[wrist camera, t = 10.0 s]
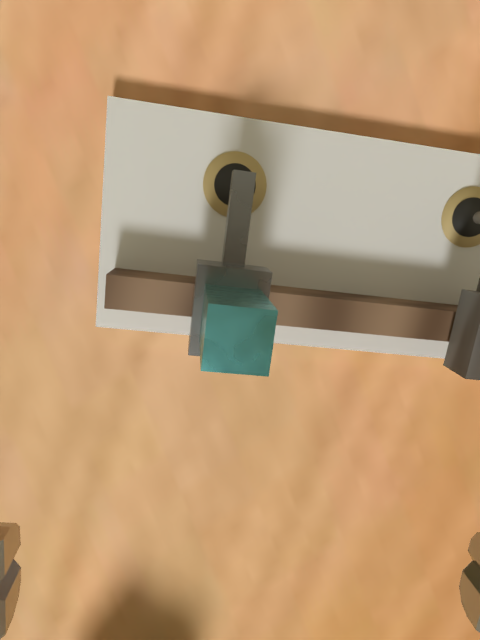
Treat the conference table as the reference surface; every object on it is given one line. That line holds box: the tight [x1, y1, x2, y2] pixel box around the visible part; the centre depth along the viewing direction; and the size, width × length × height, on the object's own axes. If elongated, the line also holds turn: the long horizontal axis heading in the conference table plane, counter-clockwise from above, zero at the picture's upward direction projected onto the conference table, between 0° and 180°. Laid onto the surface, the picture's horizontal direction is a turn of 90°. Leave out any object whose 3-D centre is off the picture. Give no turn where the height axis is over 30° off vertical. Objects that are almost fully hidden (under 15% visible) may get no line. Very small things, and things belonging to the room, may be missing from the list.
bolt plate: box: [96, 96, 480, 359], centre depth 30 cm, size 30×14×2 cm, turn 83°
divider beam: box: [104, 212, 480, 380], centre depth 26 cm, size 28×10×7 cm, turn 83°
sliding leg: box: [188, 170, 278, 376], centre depth 23 cm, size 4×10×10 cm, turn 173°
